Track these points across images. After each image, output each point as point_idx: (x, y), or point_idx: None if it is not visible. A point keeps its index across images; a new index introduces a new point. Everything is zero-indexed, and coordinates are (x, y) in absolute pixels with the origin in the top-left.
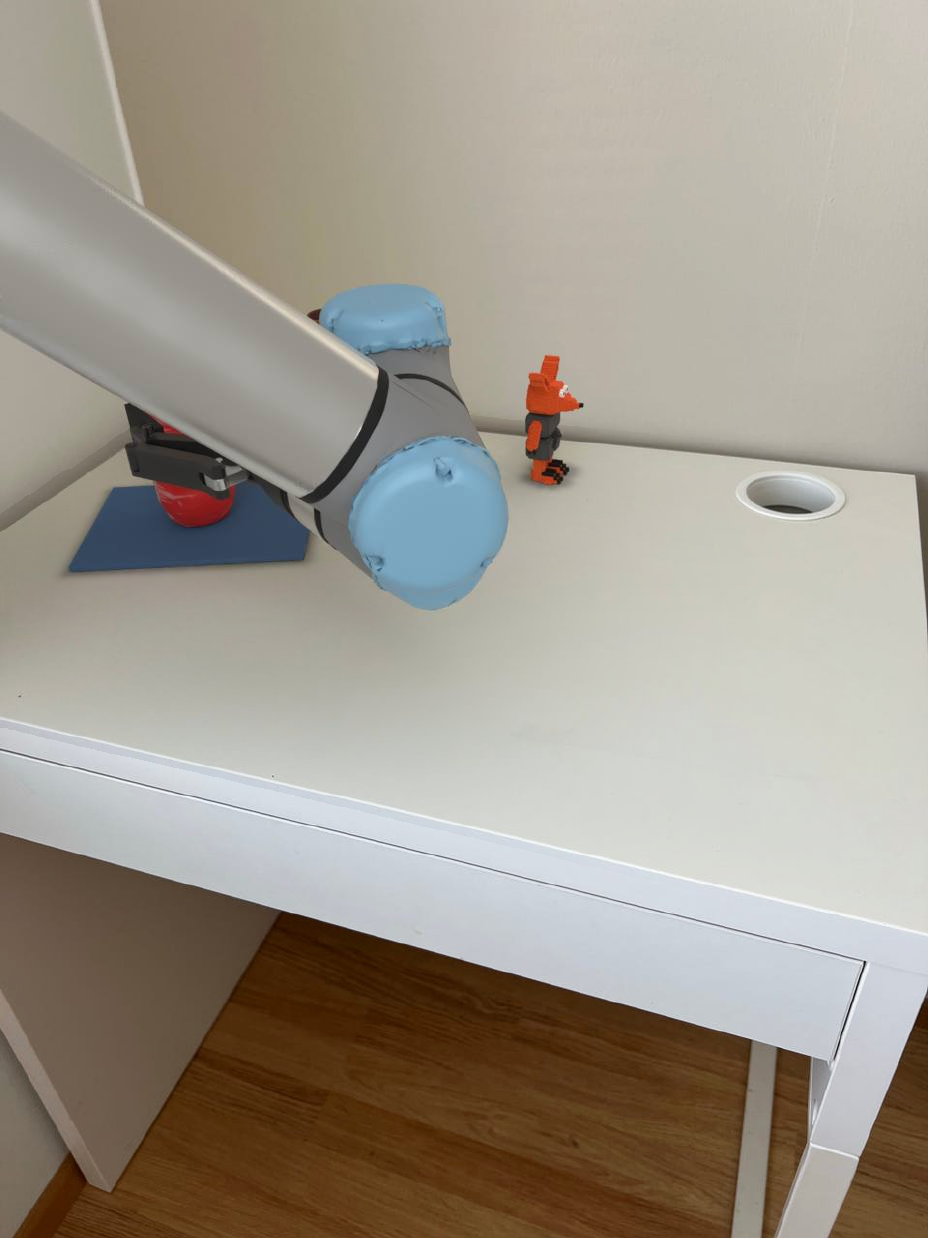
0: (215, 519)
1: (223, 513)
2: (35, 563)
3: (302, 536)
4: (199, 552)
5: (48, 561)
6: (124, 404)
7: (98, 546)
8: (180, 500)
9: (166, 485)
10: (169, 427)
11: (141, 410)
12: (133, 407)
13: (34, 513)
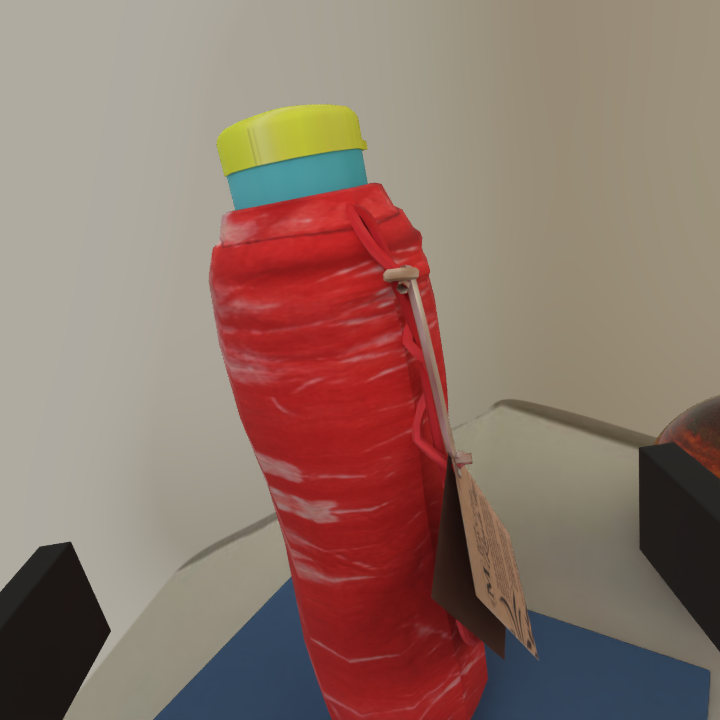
0: None
1: None
2: (110, 697)
3: None
4: None
5: (126, 703)
6: (40, 548)
7: (198, 711)
8: (335, 708)
9: (312, 661)
10: (309, 555)
11: (2, 622)
12: (19, 584)
13: (215, 556)
